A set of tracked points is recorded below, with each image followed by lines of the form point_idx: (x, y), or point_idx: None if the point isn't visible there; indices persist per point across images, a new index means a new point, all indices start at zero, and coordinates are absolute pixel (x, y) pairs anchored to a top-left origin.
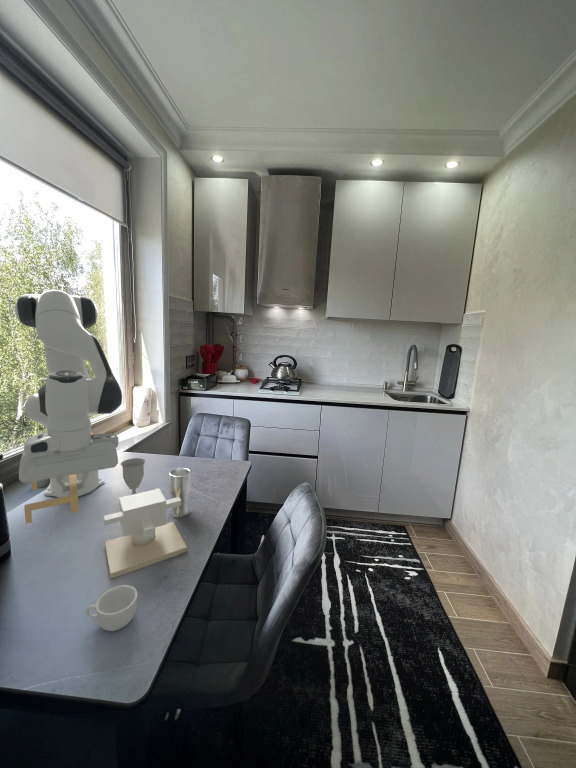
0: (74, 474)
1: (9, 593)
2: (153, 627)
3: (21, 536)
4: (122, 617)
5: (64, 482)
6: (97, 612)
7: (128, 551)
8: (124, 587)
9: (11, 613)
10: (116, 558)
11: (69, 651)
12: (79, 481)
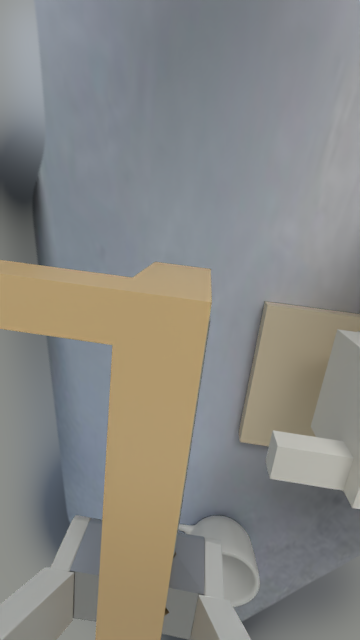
0: (158, 521)
1: (51, 340)
2: (261, 575)
3: (54, 62)
4: None
5: (61, 598)
6: None
7: (305, 392)
8: (242, 561)
9: (61, 401)
10: (269, 399)
11: None
12: (184, 612)
